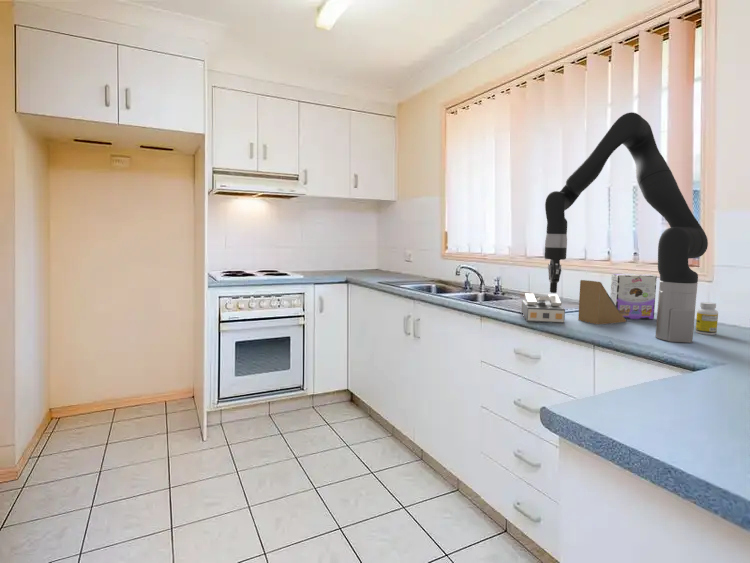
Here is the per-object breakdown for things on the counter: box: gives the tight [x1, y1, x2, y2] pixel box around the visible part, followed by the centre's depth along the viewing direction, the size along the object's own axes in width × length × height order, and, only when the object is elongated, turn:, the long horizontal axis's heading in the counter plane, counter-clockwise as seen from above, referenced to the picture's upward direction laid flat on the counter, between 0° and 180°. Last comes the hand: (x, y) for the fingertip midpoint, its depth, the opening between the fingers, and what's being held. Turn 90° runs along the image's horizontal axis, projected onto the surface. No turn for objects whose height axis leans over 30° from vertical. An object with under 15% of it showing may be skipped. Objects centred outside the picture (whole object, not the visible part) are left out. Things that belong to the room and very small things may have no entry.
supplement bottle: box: [695, 301, 719, 336], centre depth 141 cm, size 5×5×10 cm
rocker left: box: [524, 293, 537, 305], centre depth 165 cm, size 9×3×1 cm, turn 168°
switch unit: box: [520, 300, 566, 324], centre depth 164 cm, size 19×12×6 cm, turn 168°
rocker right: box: [547, 293, 563, 306], centre depth 163 cm, size 9×3×1 cm, turn 168°
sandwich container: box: [577, 279, 627, 325], centre depth 160 cm, size 9×15×15 cm, turn 114°
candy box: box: [610, 273, 657, 320], centre depth 167 cm, size 14×6×16 cm, turn 84°
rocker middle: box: [535, 296, 550, 302], centre depth 164 cm, size 9×3×1 cm, turn 168°
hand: (553, 292), depth 166 cm, fingers closed
